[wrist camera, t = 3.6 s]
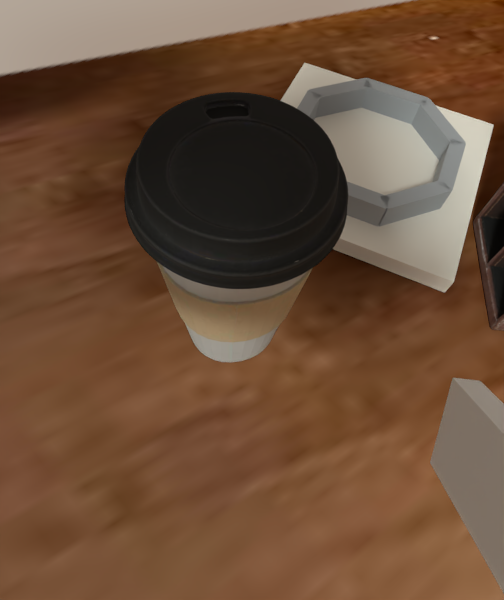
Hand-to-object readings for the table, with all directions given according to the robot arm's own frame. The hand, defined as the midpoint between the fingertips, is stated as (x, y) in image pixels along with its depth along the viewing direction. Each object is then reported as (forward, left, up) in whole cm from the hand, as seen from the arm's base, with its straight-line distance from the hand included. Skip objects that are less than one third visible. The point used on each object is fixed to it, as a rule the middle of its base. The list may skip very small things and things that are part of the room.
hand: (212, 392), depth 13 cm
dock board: (+1, +27, -15) cm, 31 cm away
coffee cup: (-3, +9, -16) cm, 18 cm away
